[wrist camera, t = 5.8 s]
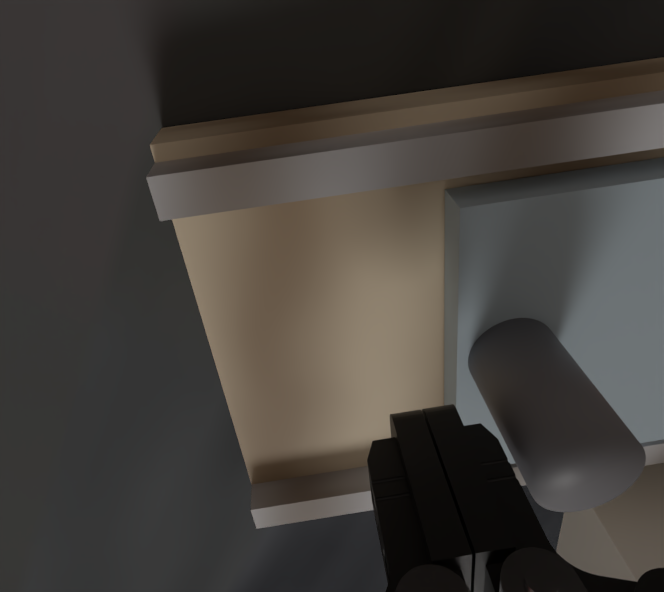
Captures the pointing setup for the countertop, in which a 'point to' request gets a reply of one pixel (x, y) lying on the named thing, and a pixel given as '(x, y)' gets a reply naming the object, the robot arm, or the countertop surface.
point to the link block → (619, 531)
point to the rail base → (362, 253)
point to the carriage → (560, 324)
